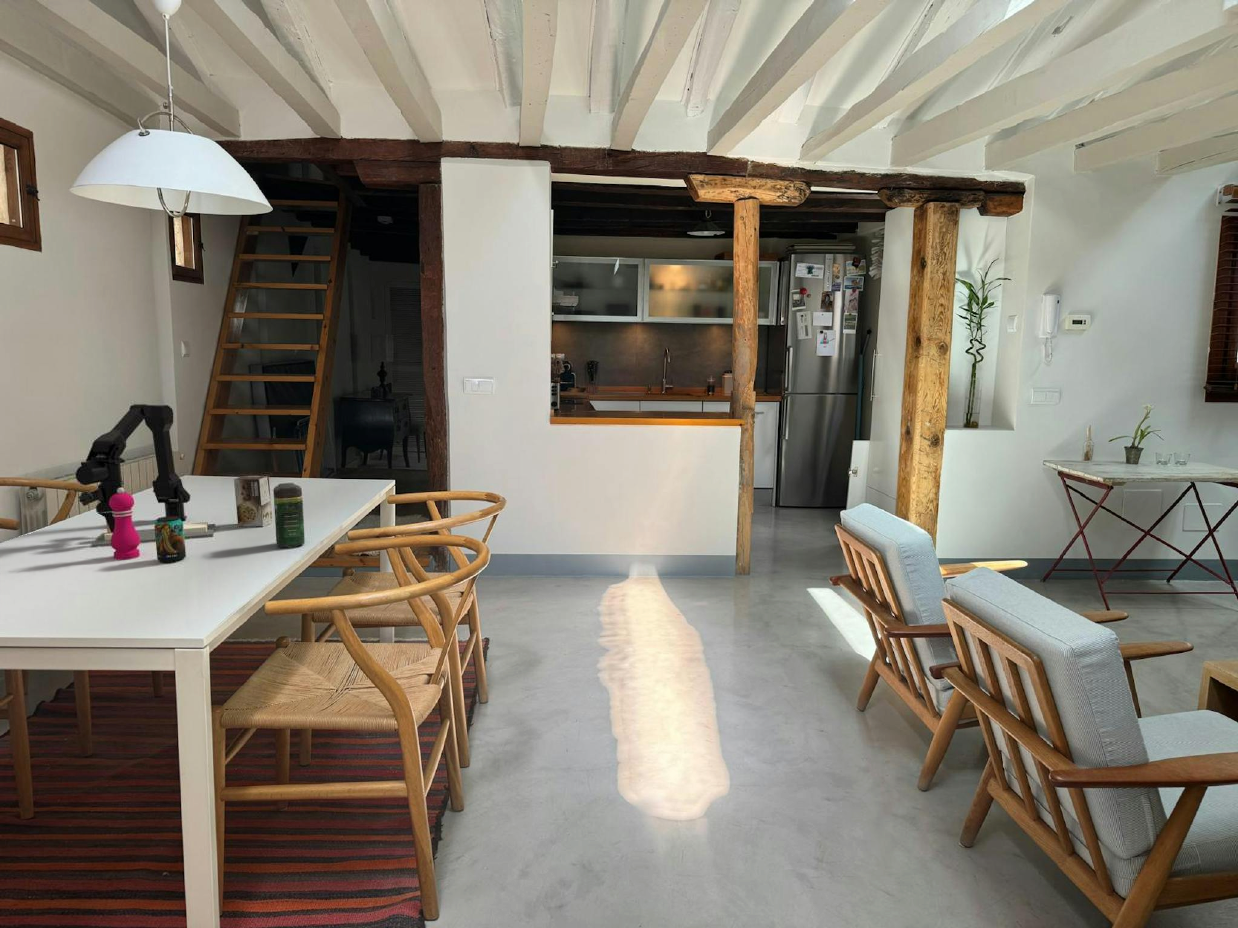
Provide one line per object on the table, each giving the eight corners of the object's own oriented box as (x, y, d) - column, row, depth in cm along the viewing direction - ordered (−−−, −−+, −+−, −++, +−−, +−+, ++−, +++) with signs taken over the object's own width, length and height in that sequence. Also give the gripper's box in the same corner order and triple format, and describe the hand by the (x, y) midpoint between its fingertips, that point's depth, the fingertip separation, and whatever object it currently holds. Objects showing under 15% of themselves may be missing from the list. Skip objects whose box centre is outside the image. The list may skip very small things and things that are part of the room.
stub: (109, 534, 251) (107, 517, 250) (131, 532, 253) (129, 515, 252) (104, 540, 243) (103, 522, 243) (127, 538, 246) (126, 520, 245)
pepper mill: (147, 554, 230) (141, 486, 227) (125, 561, 223) (118, 490, 220) (128, 552, 232) (122, 484, 229) (105, 559, 226) (98, 489, 223)
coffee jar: (306, 546, 239) (303, 485, 236) (278, 549, 235) (273, 487, 233) (303, 539, 247) (299, 480, 245) (275, 542, 244) (271, 482, 241)
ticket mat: (102, 535, 253) (101, 527, 253) (215, 526, 266) (215, 518, 266) (92, 547, 239) (91, 538, 238) (212, 536, 252) (212, 528, 251)
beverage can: (157, 564, 220) (153, 521, 218) (158, 558, 226) (154, 517, 224) (186, 561, 223) (182, 519, 221) (186, 555, 229) (182, 514, 227)
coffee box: (273, 522, 271) (270, 475, 268) (263, 527, 265) (259, 478, 262) (247, 522, 272) (244, 475, 269) (236, 526, 265) (233, 478, 263)
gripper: (85, 476, 251) (90, 525, 253) (73, 486, 234) (78, 538, 236) (127, 474, 255) (131, 522, 257) (117, 483, 238) (122, 534, 240)
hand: (115, 529), depth 248 cm, fingers open, 9 cm apart
